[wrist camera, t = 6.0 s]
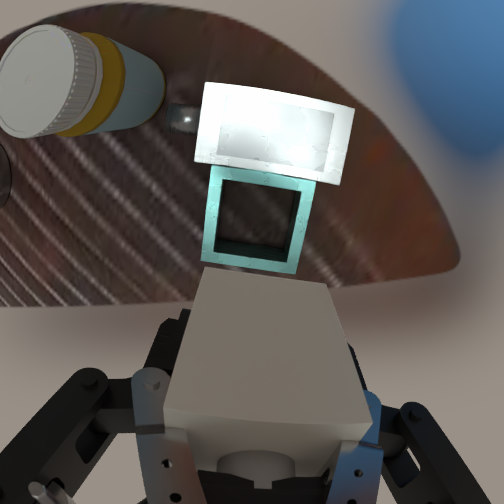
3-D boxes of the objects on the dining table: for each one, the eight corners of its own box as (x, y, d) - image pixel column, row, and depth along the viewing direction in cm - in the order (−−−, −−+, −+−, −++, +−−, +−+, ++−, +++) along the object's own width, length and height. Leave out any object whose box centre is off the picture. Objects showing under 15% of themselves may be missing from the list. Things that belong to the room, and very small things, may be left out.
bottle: (164, 128, 26) (77, 143, 12) (96, 128, 25) (-15, 150, 12) (171, 54, 23) (93, 4, 9) (102, 59, 23) (-5, 34, 9)
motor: (168, 241, 30) (144, 280, 23) (184, 88, 24) (158, 78, 17) (299, 260, 31) (311, 304, 24) (330, 110, 25) (358, 108, 18)
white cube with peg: (205, 266, 13) (144, 482, 4) (325, 283, 13) (391, 489, 5) (197, 356, 15) (163, 531, 6) (297, 368, 15) (317, 540, 7)
